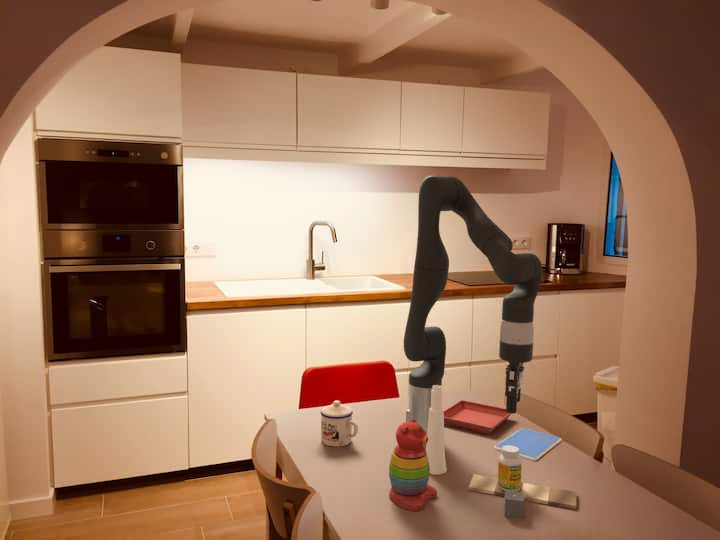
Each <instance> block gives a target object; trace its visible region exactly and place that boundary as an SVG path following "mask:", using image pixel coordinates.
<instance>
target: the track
mask: <svg viewBox="0 0 720 540" xmlns="http://www.w3.org/2000/svg"><path fill="white" fill-rule="evenodd" d="M468 491H472V492H473V491H474V492H476V493H477V492H478V493H484V494H489V495H494V496H498V497H504V496H505V491H504V490H501V489H500V488H499V487H498V477H492V476H486V475H479V474H475V473H473V475H472V478H471V480H470V482H469V486H468ZM516 492H523V495H524V501H527V502H533V503H538V504H544V505H550V506H556V507H560V508H566V509H571V510H577V491H573V490H569V489H561V488H555V487H549V486H545V485H539V484H532V483H527V482H522V481H521V487H520V490H518V491H516Z"/></svg>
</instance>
